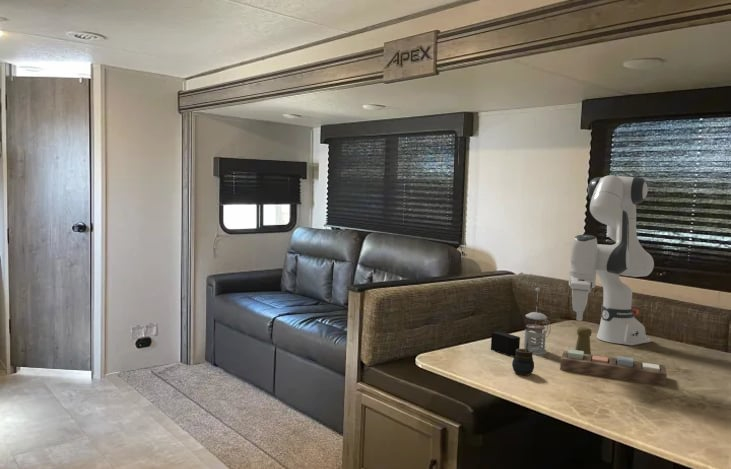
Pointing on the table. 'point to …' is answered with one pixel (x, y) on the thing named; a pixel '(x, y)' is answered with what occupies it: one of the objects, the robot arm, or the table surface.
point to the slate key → (624, 361)
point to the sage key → (575, 354)
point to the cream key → (650, 366)
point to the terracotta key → (600, 359)
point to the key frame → (614, 369)
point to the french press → (538, 335)
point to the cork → (583, 340)
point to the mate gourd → (523, 361)
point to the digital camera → (505, 343)
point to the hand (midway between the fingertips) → (579, 320)
